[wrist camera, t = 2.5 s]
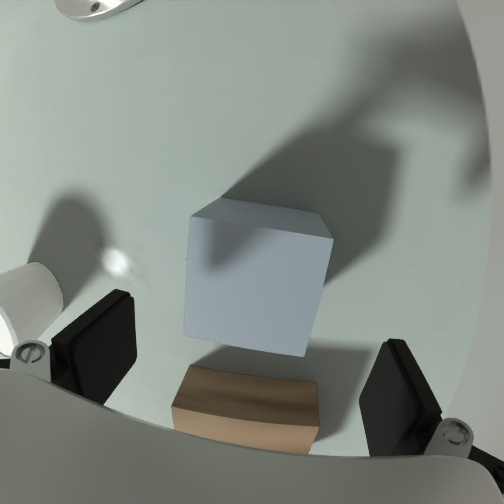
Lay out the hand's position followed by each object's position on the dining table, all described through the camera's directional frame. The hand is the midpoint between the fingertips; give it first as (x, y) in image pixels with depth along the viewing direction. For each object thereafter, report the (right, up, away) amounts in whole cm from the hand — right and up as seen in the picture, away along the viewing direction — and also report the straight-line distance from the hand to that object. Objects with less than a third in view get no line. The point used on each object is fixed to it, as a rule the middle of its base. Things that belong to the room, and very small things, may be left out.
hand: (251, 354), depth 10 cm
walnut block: (0, -11, +13) cm, 17 cm away
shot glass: (-19, 0, +12) cm, 23 cm away
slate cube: (+1, +4, +9) cm, 9 cm away
